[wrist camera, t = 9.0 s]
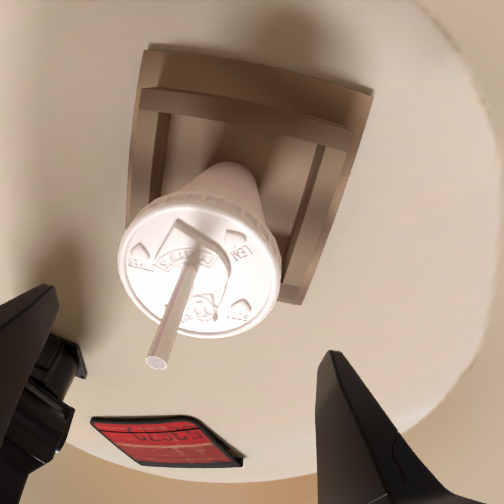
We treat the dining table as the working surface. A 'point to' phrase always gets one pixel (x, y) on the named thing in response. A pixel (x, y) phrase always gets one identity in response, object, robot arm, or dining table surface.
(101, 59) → the dining table surface
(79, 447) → the dining table surface
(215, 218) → the smoothie
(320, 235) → the brown shallow square tray
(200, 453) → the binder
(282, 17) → the dining table surface
